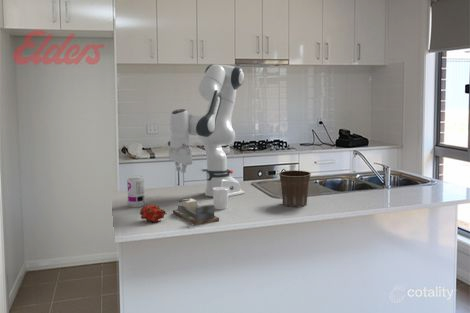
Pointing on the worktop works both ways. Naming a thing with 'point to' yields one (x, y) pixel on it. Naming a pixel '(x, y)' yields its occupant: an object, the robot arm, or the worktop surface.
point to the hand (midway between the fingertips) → (180, 171)
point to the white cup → (220, 197)
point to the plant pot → (294, 187)
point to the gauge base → (197, 214)
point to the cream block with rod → (189, 204)
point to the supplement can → (136, 191)
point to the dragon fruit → (152, 213)
